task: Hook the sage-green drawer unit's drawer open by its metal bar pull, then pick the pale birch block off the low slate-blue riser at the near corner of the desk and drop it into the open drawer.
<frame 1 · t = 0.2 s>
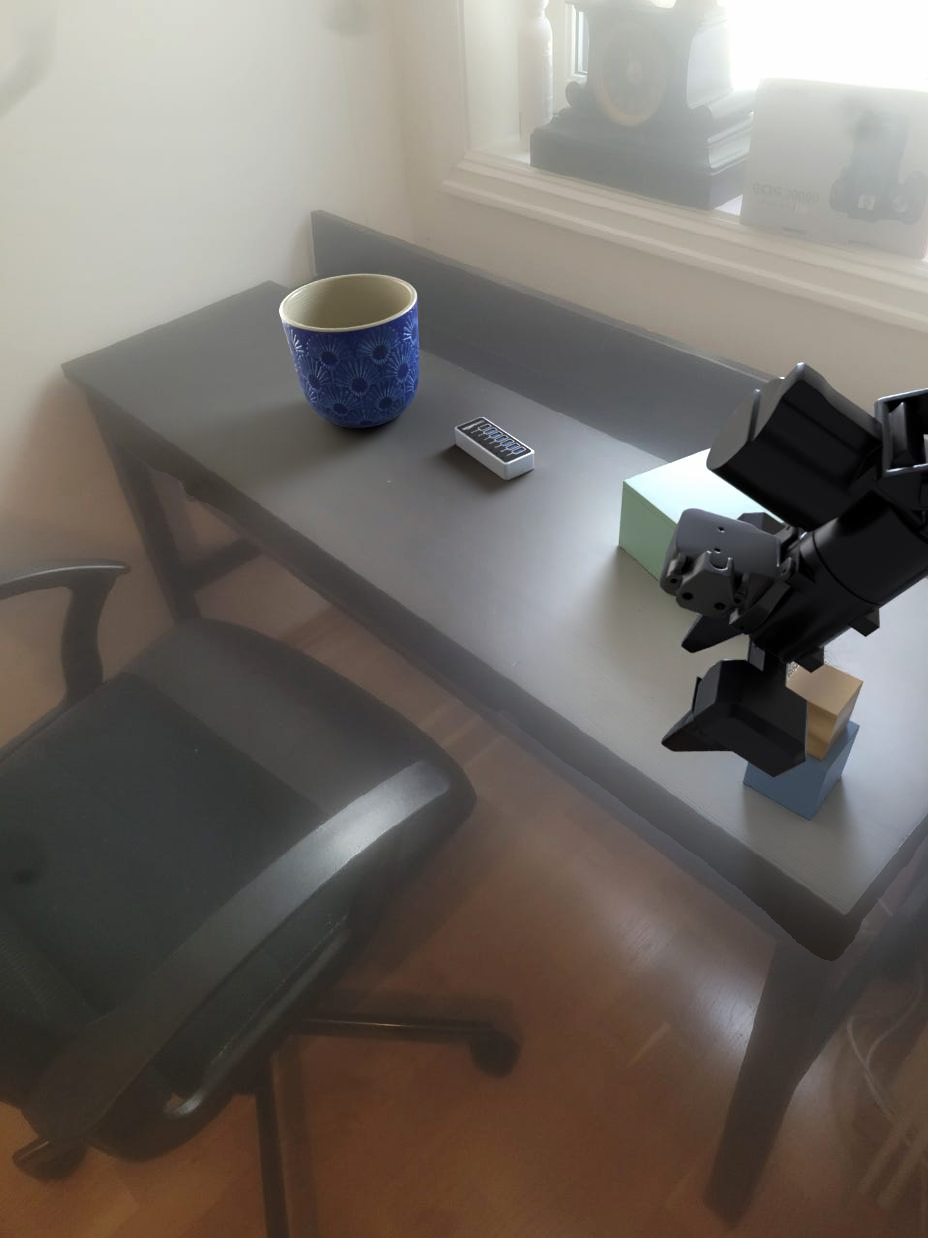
hand: (677, 694, 59), 13 cm above the table, tool tilted 30°, fingers open, 9 cm apart
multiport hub: (494, 456, 106), on the table
drawer: (739, 553, 83), point 4 cm above the table, slide at 0.5 cm
riser: (792, 778, 69), on the table
planter: (365, 412, 116), on the table
block: (807, 729, 65), point 6 cm above the table, touching riser
cabinet: (703, 560, 89), on the table
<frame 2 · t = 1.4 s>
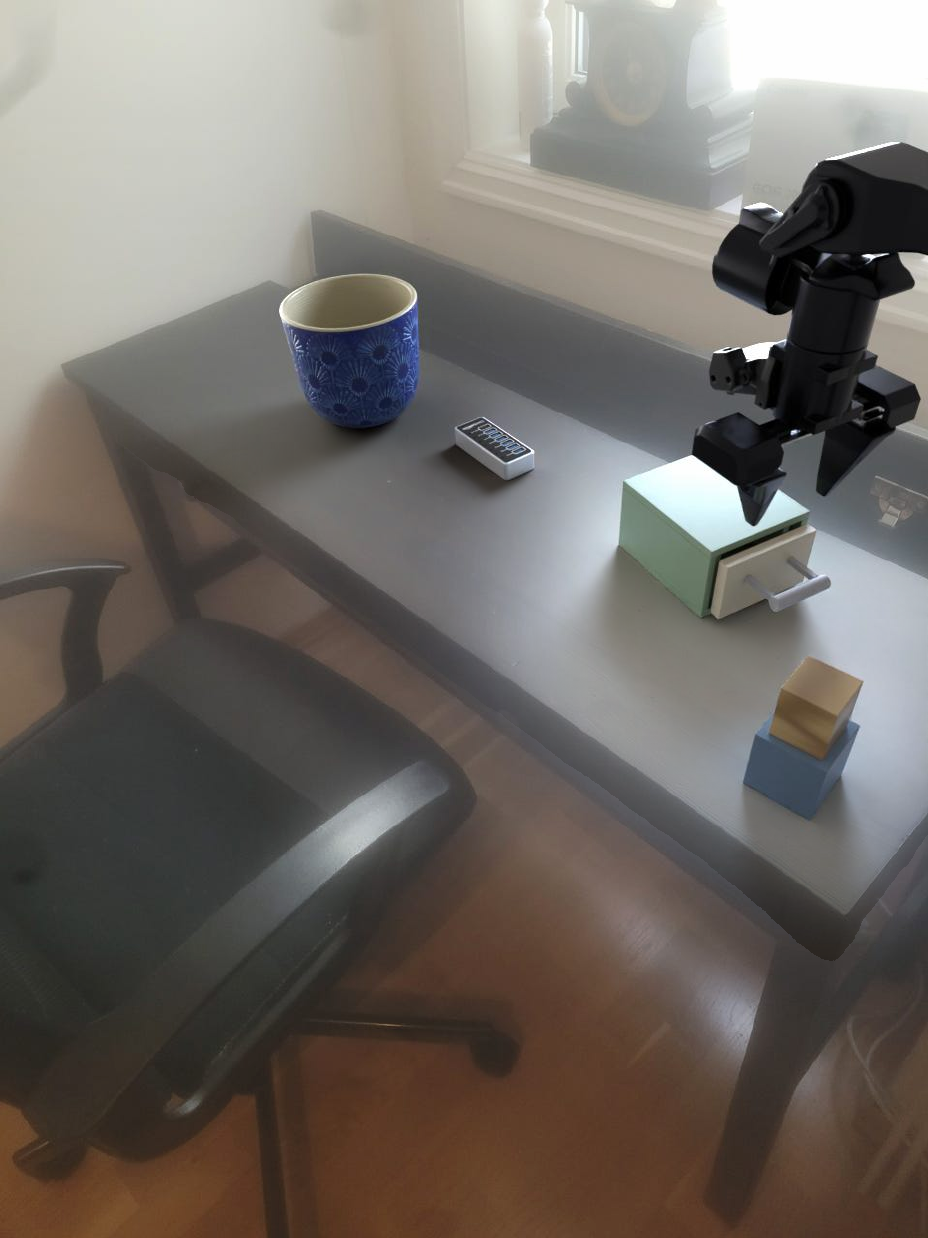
hand: (786, 508, 75), 12 cm above the table, tool pointing down, fingers open, 8 cm apart
nothing on the table moved.
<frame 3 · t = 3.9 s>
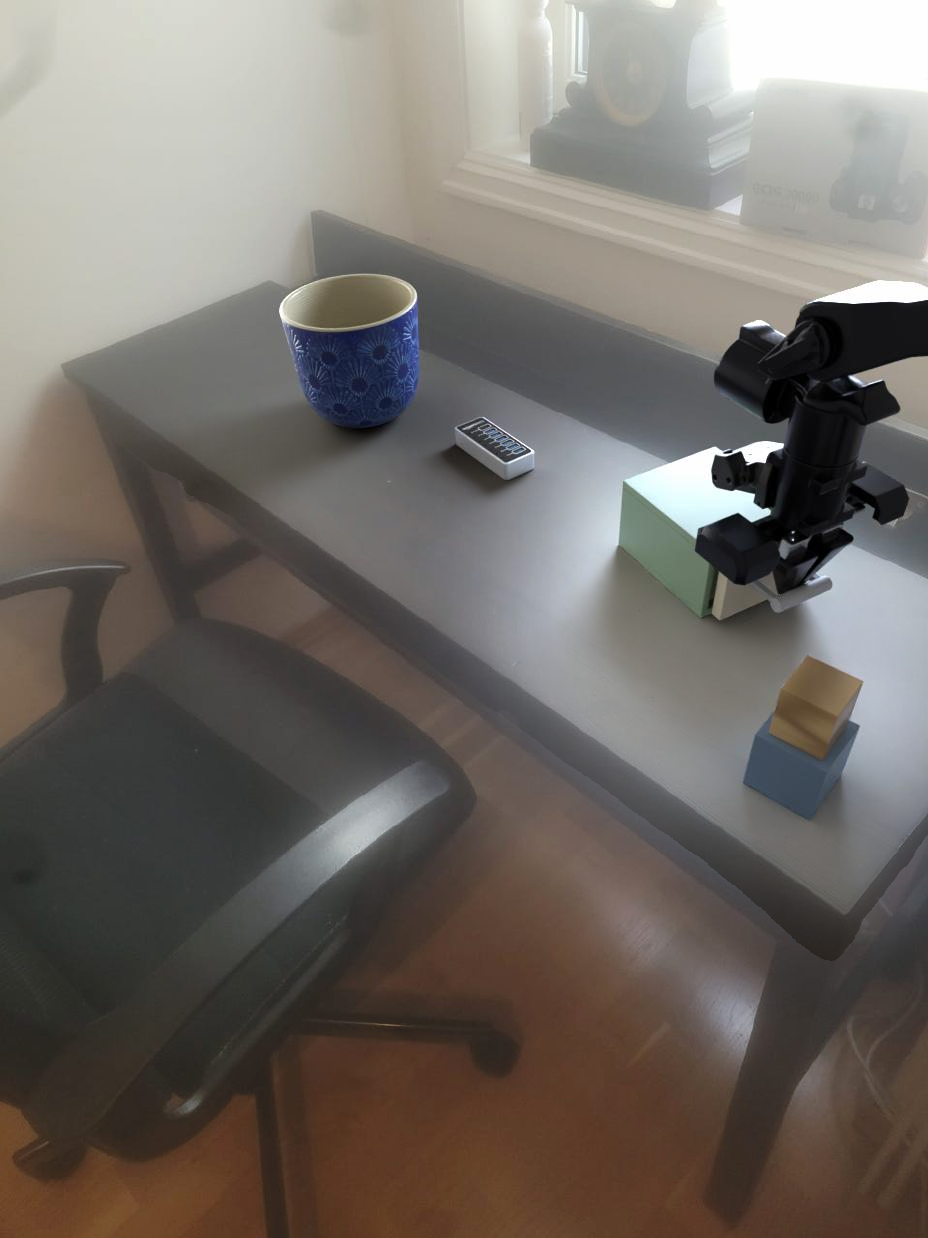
hand: (784, 594, 79), 3 cm above the table, tool pointing down, fingers closed
nothing on the table moved.
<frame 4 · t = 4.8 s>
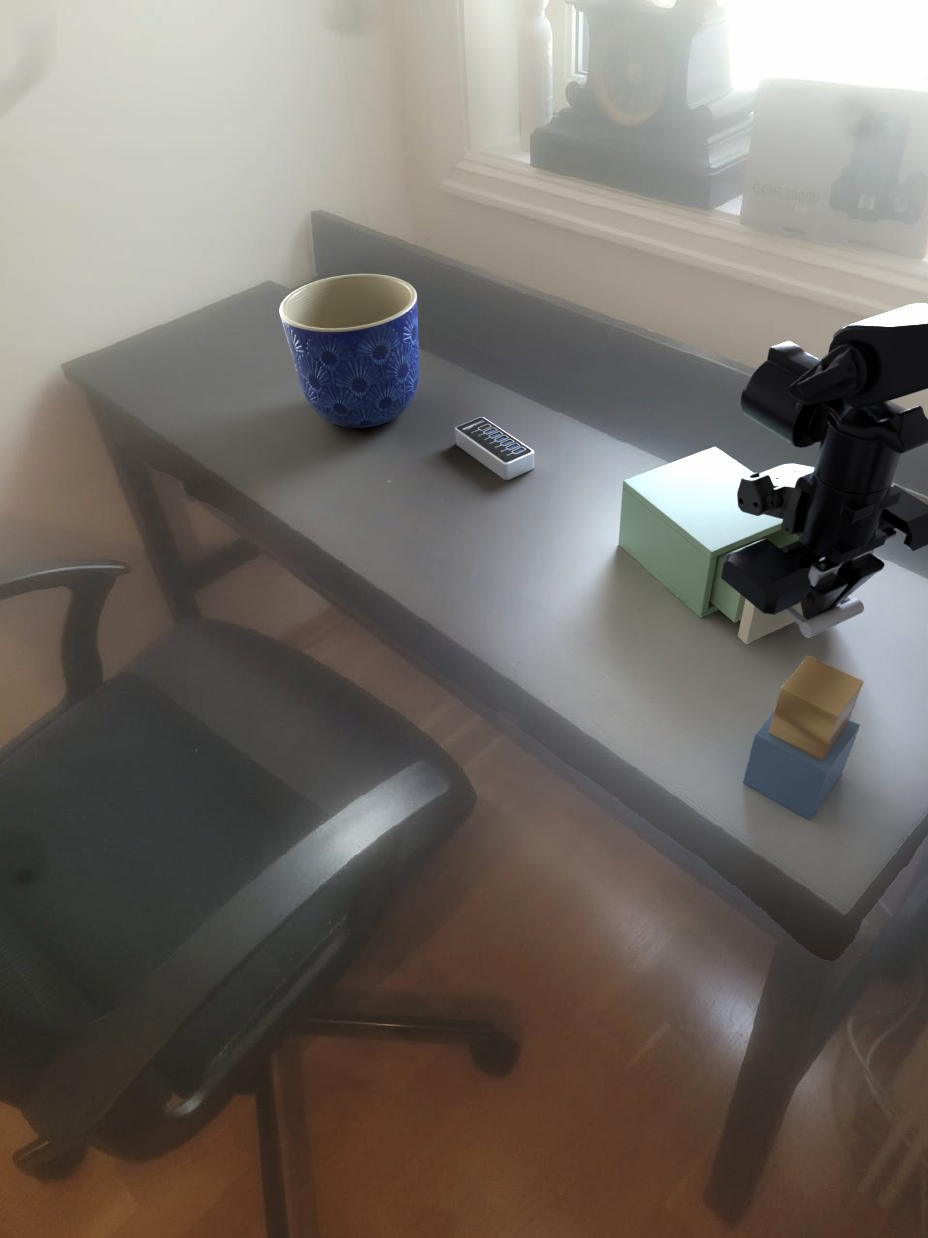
hand: (811, 620, 77), 3 cm above the table, tool pointing down, fingers closed, pressing on drawer
drawer: (767, 575, 81), point 4 cm above the table, slide at 4.4 cm, touching gripper
everything else where it was.
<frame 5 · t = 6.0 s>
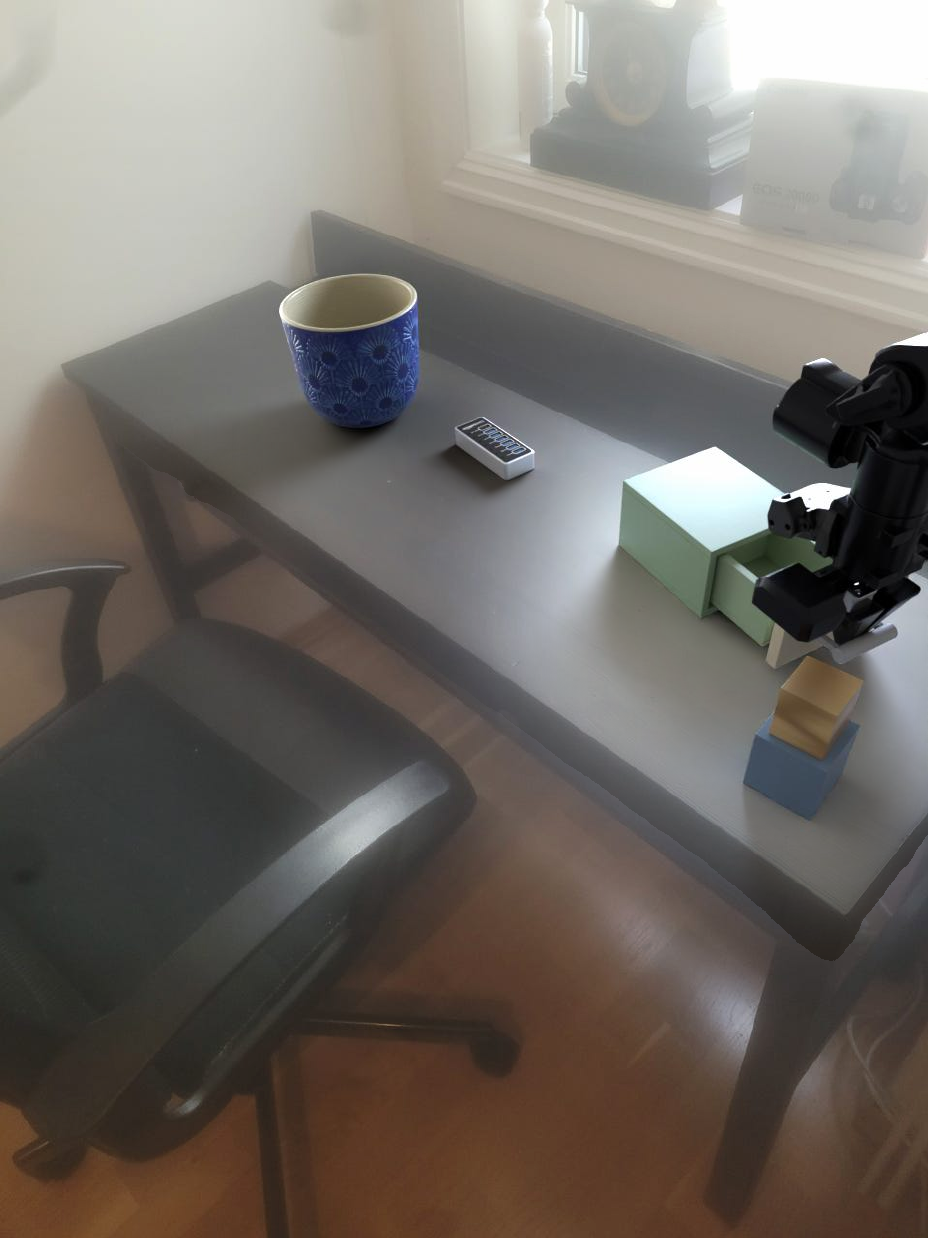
hand: (842, 645, 75), 3 cm above the table, tool pointing down, fingers closed, pressing on drawer
drawer: (795, 597, 78), point 4 cm above the table, slide at 8.0 cm, touching gripper
everything else where it was.
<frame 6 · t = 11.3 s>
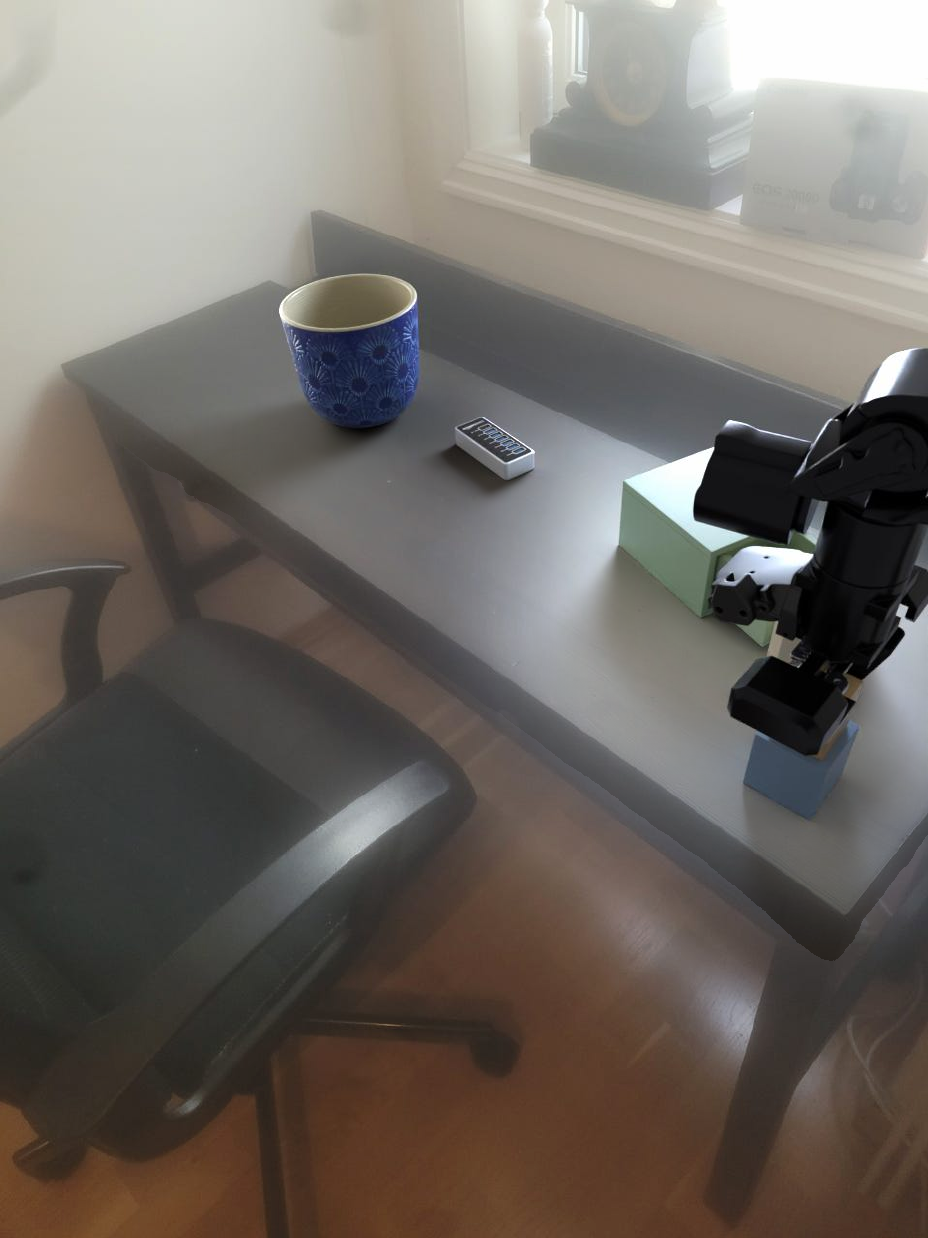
hand: (810, 722, 64), 7 cm above the table, tool pointing down, fingers closed on block, 4 cm apart
drawer: (795, 597, 78), point 4 cm above the table, slide at 8.0 cm
block: (807, 729, 65), point 6 cm above the table, touching gripper, riser
everything else where it was.
when the fingers open (7 cm above the table, at t = 16.2 s): block drops 4 cm, resting on drawer.
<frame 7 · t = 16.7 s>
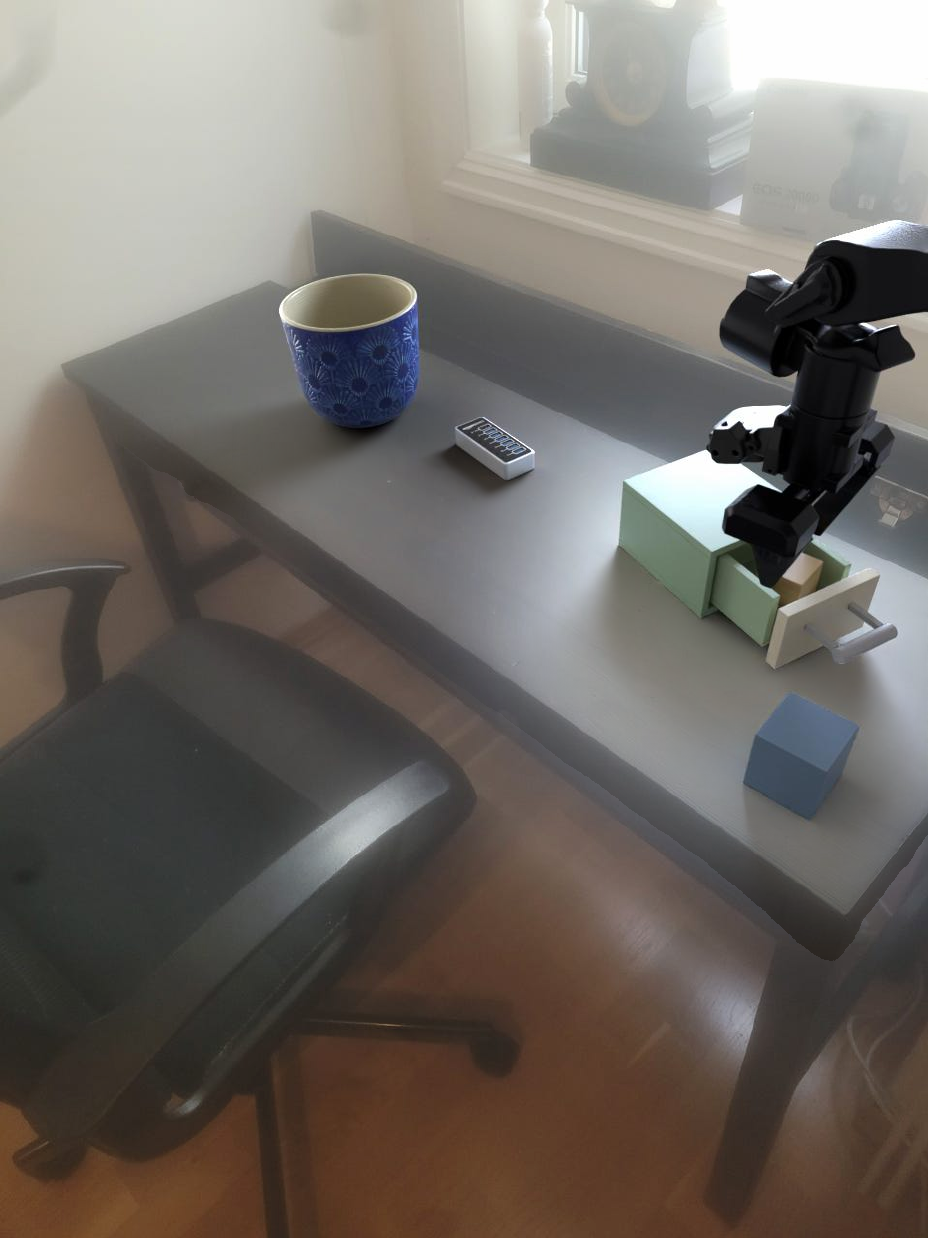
hand: (791, 559, 77), 8 cm above the table, tool pointing down, fingers open, 9 cm apart
drawer: (795, 597, 78), point 4 cm above the table, slide at 8.0 cm, touching block
block: (780, 605, 80), point 2 cm above the table, touching drawer
everything else where it was.
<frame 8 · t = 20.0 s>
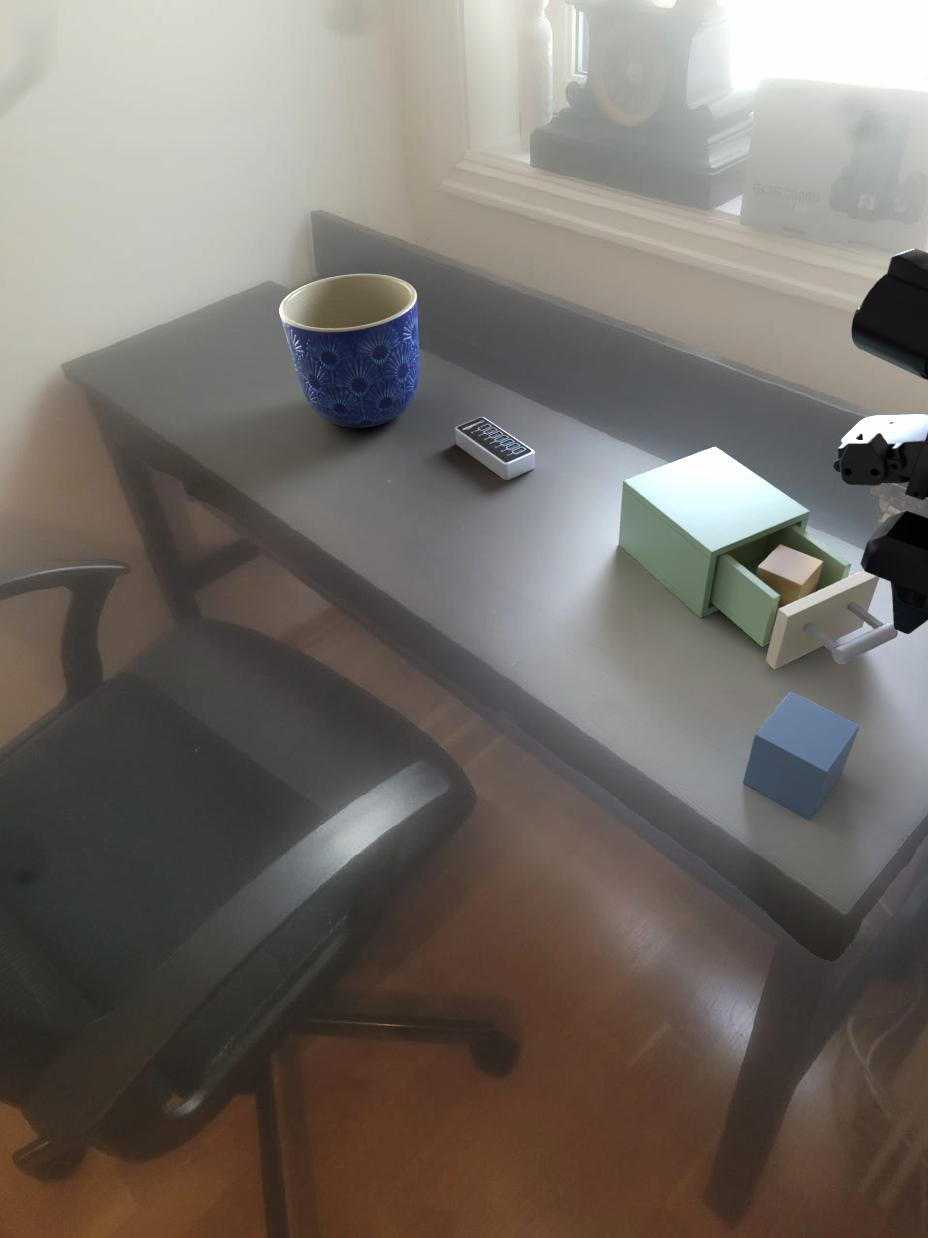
hand: (926, 596, 64), 13 cm above the table, tool pointing down, fingers open, 9 cm apart
nothing on the table moved.
at the end: drawer slide at 8.0 cm; block inside the target area (0.4 cm from its centre), point 2.0 cm above the table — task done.
